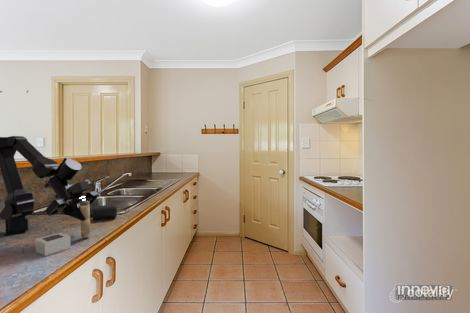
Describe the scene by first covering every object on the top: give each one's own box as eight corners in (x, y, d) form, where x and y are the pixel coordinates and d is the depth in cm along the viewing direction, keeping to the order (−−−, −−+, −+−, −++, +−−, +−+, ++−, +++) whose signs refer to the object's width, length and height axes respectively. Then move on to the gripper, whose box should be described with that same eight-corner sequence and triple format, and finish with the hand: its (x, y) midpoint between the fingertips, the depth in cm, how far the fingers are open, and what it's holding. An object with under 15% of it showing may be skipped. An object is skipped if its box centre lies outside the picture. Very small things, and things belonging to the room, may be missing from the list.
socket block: (35, 251, 79) (35, 239, 79) (60, 243, 85) (60, 232, 85) (45, 256, 76) (44, 243, 75) (70, 248, 82) (70, 236, 82)
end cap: (92, 222, 109) (92, 208, 109) (92, 219, 115) (92, 204, 115) (117, 219, 114) (116, 205, 114) (115, 215, 120) (115, 202, 120)
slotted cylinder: (80, 237, 89) (79, 202, 88) (81, 235, 91) (80, 201, 91) (89, 236, 90) (89, 202, 89) (90, 234, 93) (90, 200, 92)
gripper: (51, 176, 81) (79, 211, 79) (94, 171, 100) (118, 199, 98) (33, 198, 83) (60, 232, 82) (79, 189, 102) (102, 217, 100)
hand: (88, 218), depth 90 cm, fingers closed on slotted cylinder, 3 cm apart
